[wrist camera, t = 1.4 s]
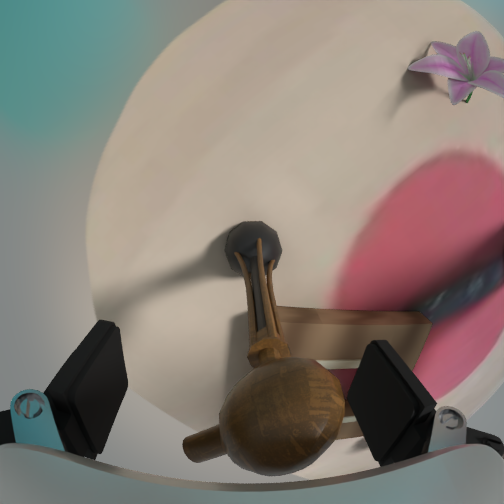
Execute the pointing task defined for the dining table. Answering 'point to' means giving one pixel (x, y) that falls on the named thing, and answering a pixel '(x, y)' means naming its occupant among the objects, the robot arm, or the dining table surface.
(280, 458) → the wooden tabletop sculpture
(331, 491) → the robot arm
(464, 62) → the lily
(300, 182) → the dining table surface
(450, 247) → the dining table surface
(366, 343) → the socket board
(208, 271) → the dining table surface
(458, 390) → the dining table surface
